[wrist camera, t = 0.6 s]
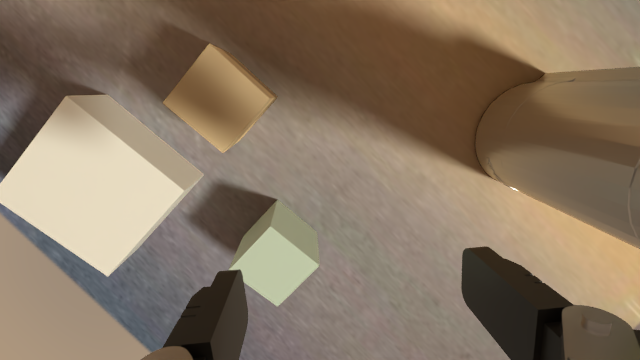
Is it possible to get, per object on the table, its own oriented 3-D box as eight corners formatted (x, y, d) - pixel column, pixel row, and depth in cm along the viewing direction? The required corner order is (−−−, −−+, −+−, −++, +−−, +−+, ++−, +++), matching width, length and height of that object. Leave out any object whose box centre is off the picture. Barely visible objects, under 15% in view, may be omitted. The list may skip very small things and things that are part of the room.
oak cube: (231, 53, 26) (209, 43, 20) (277, 96, 27) (269, 98, 21) (193, 100, 27) (162, 102, 21) (240, 139, 28) (222, 153, 22)
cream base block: (109, 94, 26) (66, 95, 22) (205, 173, 29) (184, 190, 24) (44, 178, 28) (-10, 196, 23) (139, 247, 30) (107, 276, 26)
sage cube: (277, 199, 29) (270, 226, 24) (317, 232, 30) (319, 265, 25) (243, 236, 30) (228, 270, 24) (282, 266, 31) (277, 306, 26)
